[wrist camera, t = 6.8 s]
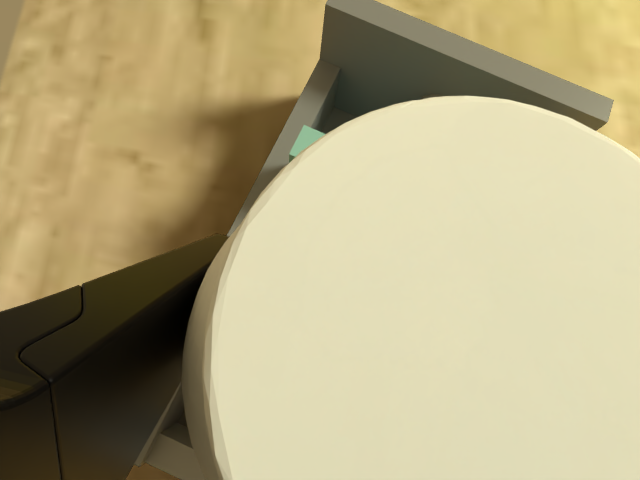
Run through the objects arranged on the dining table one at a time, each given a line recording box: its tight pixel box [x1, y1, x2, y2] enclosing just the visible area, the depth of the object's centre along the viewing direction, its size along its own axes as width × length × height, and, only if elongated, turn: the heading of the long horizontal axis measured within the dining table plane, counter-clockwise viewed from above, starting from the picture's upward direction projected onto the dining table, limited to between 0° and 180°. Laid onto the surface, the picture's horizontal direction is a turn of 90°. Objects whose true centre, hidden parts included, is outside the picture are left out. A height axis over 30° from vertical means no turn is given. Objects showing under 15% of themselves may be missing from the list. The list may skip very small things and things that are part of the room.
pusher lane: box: [134, 0, 614, 480], centre depth 16 cm, size 18×11×7 cm, turn 156°
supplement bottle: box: [182, 96, 640, 480], centre depth 9 cm, size 7×7×13 cm
